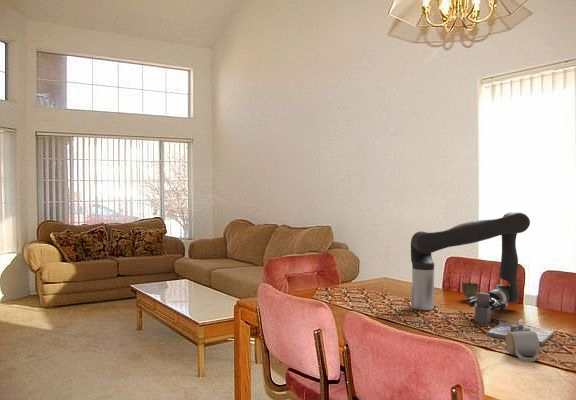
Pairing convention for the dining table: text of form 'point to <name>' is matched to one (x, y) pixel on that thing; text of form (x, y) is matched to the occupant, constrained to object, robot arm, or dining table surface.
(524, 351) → the ceramic mug
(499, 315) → the dining table surface
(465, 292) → the cup
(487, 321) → the knob
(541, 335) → the base plate
